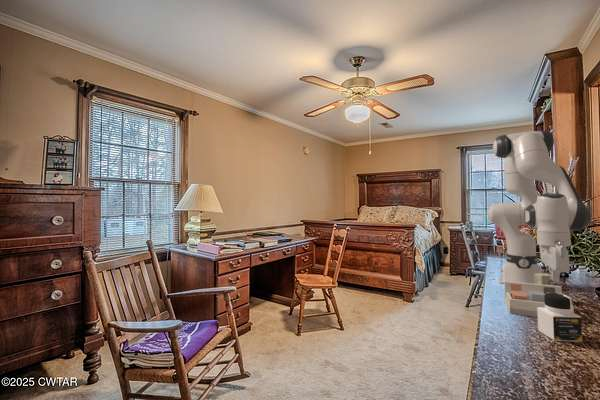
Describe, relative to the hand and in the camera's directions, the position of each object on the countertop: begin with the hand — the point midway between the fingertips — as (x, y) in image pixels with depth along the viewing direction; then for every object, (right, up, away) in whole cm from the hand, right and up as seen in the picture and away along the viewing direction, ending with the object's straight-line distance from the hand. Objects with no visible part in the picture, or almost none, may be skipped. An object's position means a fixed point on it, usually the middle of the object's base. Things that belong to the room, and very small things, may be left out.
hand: (555, 280), depth 101 cm
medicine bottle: (-12, -12, -16) cm, 23 cm away
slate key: (-4, -7, +3) cm, 9 cm away
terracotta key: (-8, -9, +5) cm, 13 cm away
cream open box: (-3, -12, +5) cm, 13 cm away
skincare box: (+10, -12, +16) cm, 23 cm away
